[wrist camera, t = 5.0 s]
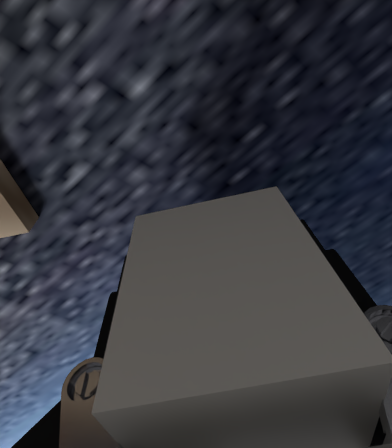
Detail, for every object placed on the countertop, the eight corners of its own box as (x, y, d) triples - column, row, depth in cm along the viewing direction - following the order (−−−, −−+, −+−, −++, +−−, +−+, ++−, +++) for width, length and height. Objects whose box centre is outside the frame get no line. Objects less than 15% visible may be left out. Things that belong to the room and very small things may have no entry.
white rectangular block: (282, 287, 13) (361, 471, 7) (171, 308, 13) (168, 500, 8) (276, 186, 10) (396, 361, 5) (135, 216, 10) (91, 413, 5)
